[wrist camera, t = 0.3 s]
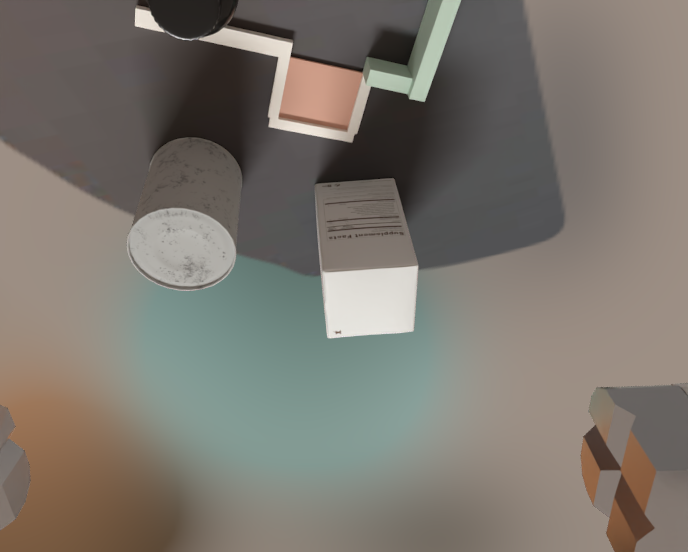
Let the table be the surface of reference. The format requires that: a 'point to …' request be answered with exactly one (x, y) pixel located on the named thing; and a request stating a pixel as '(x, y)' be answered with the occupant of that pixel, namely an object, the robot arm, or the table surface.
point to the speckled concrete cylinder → (187, 216)
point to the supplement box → (365, 258)
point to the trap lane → (335, 75)
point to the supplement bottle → (192, 16)
